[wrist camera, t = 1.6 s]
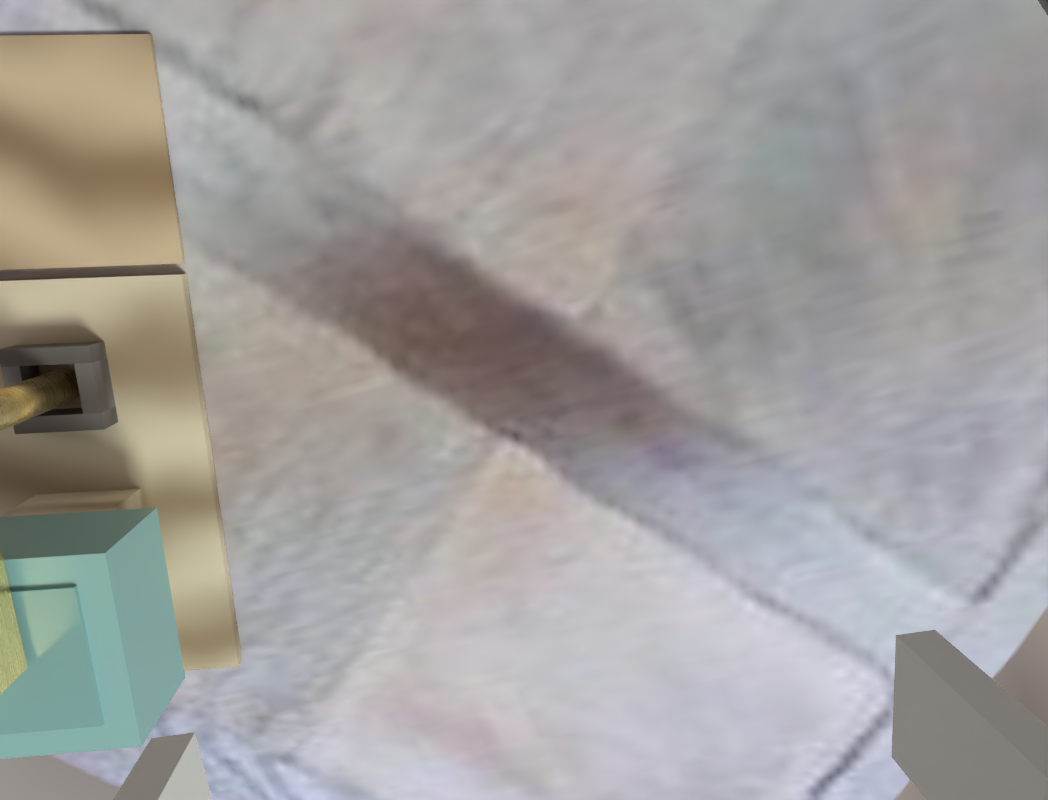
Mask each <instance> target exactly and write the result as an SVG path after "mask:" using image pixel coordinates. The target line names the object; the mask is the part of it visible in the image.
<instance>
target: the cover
mask: <svg viewBox="0 0 1048 800" xmlns="http://www.w3.org/2000/svg"><path fill="white" fill-rule="evenodd" d="M0 547H1V552H2V556H3V561H4V565H5V569H6V574H7V578H8V583H9V587H10V591H11V596H12V600H13V605H14V609H15V614H16V618H17V622H18V627H19V631H20V636H21V640H22V645H23V649H24V653H25V658H26V662H27V667H28V668H27V669H26V670H25V671H24V672H23V673H22V674H21V675H20V676H19V677H18V678H17V679H16V680H15V681H14V682H13V683H12V684H11V685H10V686H9V687H8V688H7V689H6V690H5V691H4V692H3V693H2V694H1V695H0V759H2V758H15V757H27V756H37V755H50V754H61V753H73V752H84V751H95V750H107V749H118V748H130V747H141V746H142V745H143V743H144V742H145V740H146V739H147V737H148V736H149V734H150V732H151V731H152V729H153V728H154V726H155V724H156V723H157V721H158V720H159V718H160V716H161V715H162V713H163V712H164V710H165V709H166V707H167V705H168V704H169V702H170V701H171V699H172V697H173V696H174V694H175V693H176V691H177V690H178V688H179V686H180V685H181V683H182V682H183V680H184V678H185V673H184V667H183V661H182V655H181V649H180V643H179V637H178V631H177V625H176V619H175V613H174V607H173V601H172V595H171V589H170V583H169V577H168V571H167V565H166V559H165V553H164V547H163V541H162V535H161V529H160V523H159V517H158V511H157V508H141V509H125V510H109V511H92V512H76V513H60V514H44V515H28V516H12V517H0Z"/></svg>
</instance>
